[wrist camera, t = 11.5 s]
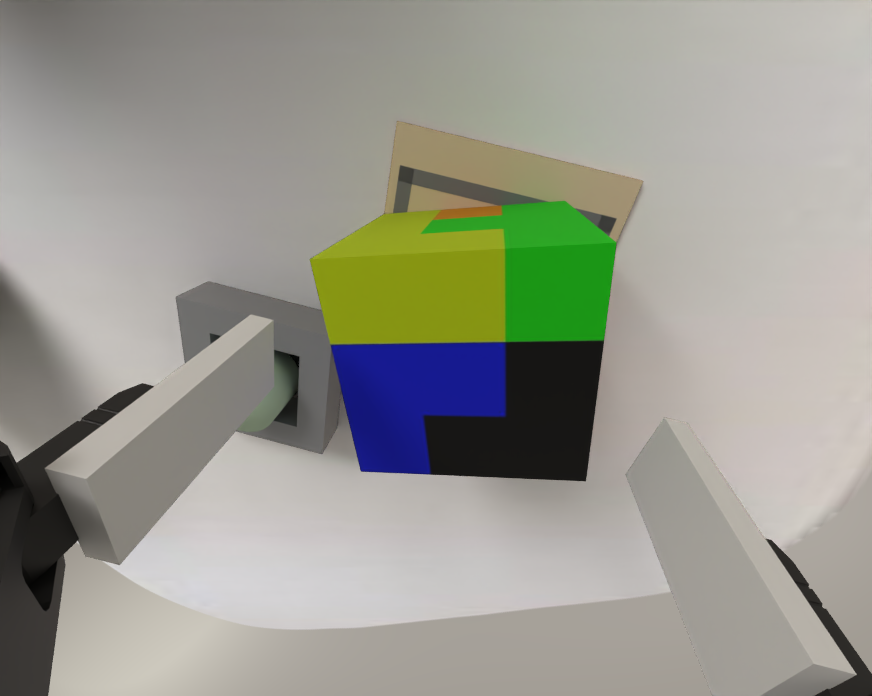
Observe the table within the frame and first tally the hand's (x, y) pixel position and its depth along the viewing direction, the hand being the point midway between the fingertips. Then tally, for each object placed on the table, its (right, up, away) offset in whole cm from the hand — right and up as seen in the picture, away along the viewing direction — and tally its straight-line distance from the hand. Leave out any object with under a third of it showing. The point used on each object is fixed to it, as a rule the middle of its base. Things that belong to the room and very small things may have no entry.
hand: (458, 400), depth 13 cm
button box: (-13, +1, +15) cm, 20 cm away
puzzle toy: (+2, +5, +11) cm, 12 cm away
